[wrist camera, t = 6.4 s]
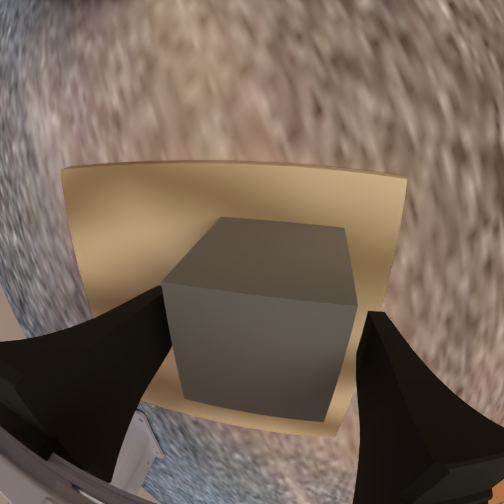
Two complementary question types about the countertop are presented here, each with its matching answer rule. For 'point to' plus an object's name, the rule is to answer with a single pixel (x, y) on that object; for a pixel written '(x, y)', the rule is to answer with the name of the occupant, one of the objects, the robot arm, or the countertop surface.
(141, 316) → the robot arm
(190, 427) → the countertop surface
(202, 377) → the grey cube
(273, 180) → the board
